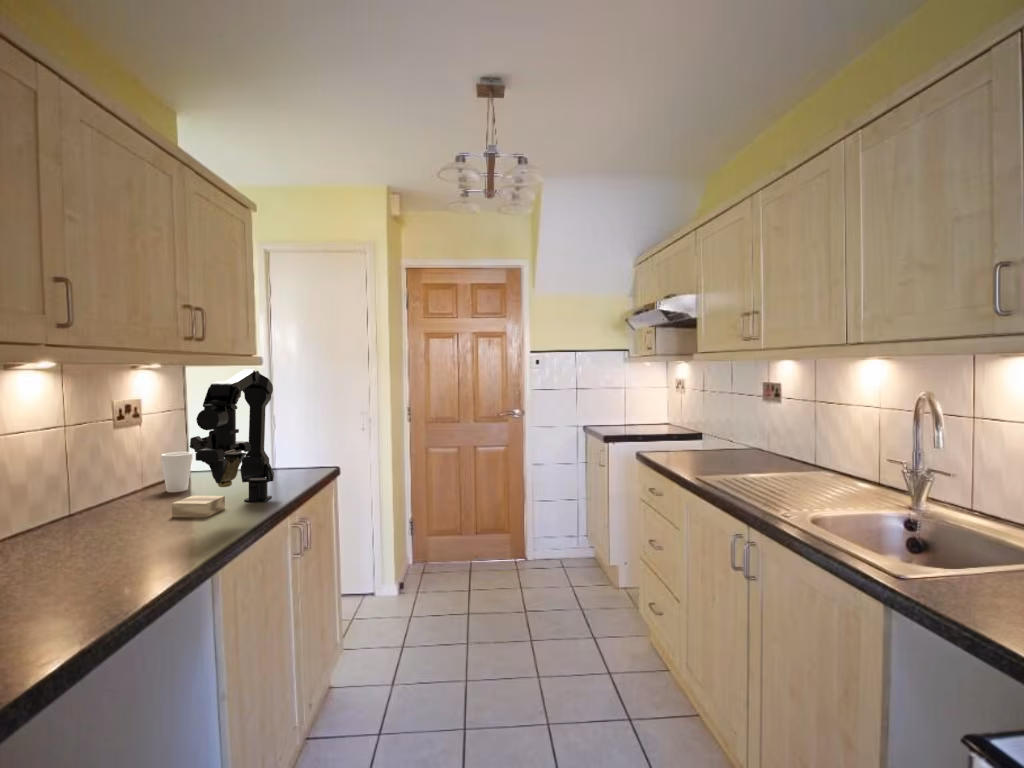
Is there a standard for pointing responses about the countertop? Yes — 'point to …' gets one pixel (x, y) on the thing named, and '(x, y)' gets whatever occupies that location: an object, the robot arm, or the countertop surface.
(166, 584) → the countertop surface
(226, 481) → the cup
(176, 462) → the foam cup
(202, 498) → the pedestal
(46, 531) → the countertop surface
